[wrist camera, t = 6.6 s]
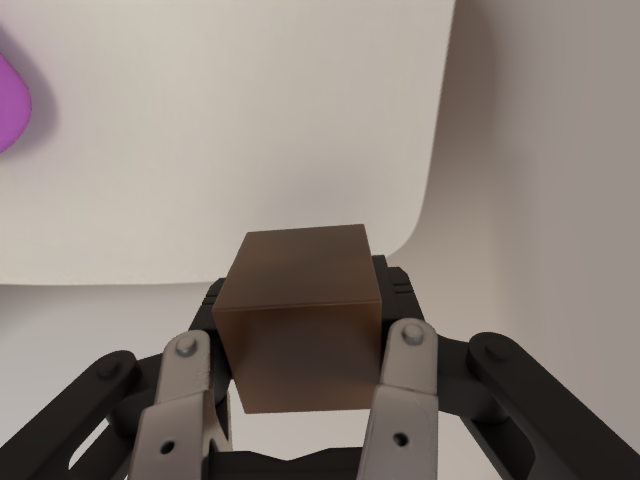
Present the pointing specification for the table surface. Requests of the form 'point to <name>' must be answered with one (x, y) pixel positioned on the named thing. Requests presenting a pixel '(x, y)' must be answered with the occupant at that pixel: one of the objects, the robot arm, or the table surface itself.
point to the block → (302, 320)
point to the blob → (12, 104)
